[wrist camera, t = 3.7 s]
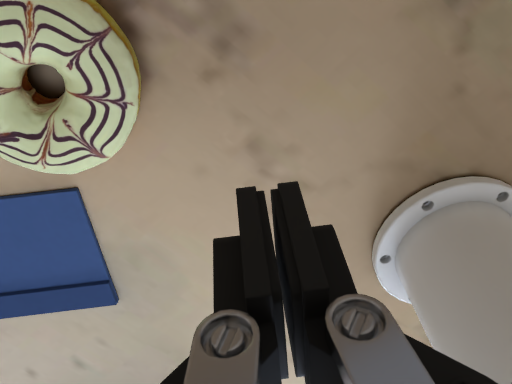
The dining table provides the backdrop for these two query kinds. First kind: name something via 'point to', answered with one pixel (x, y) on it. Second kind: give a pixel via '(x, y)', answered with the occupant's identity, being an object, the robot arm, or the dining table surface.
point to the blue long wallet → (50, 256)
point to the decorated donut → (76, 85)
